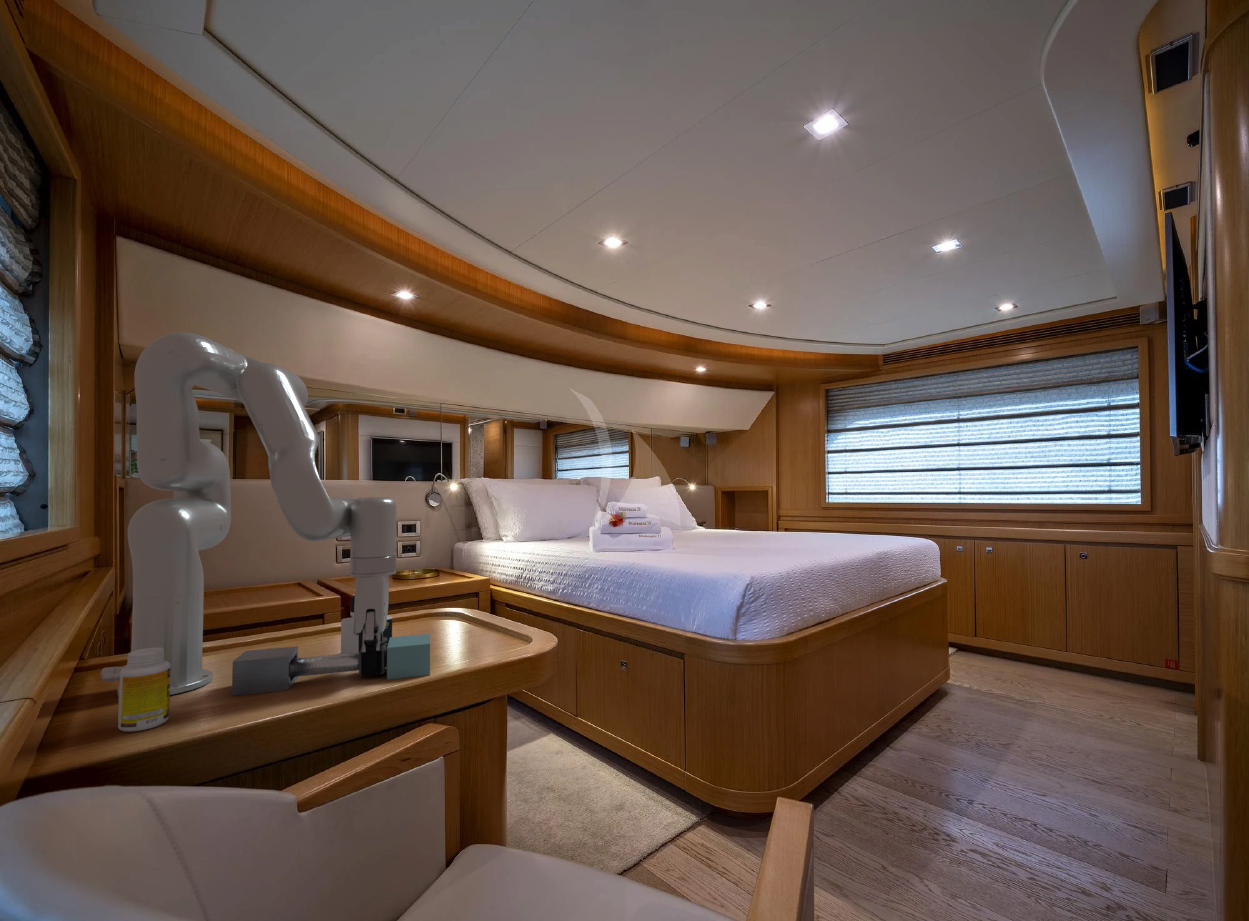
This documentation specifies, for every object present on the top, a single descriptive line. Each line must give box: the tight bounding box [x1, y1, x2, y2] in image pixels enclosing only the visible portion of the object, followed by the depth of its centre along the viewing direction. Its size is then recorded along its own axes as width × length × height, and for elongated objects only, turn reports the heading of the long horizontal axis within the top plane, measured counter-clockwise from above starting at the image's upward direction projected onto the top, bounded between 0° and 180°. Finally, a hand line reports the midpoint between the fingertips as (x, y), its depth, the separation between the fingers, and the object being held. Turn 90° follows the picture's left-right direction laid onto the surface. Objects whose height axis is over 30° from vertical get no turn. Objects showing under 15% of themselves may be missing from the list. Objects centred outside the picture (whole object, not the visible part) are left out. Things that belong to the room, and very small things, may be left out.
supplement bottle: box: [117, 648, 171, 733], centre depth 82 cm, size 6×6×10 cm
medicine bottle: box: [340, 594, 393, 654], centre depth 118 cm, size 7×7×12 cm
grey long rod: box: [290, 644, 387, 678], centre depth 101 cm, size 22×4×4 cm, turn 109°
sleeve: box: [231, 646, 299, 697], centre depth 98 cm, size 8×7×5 cm
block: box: [386, 633, 431, 681], centre depth 105 cm, size 7×8×5 cm
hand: (372, 669), depth 103 cm, fingers closed on grey long rod, 4 cm apart
